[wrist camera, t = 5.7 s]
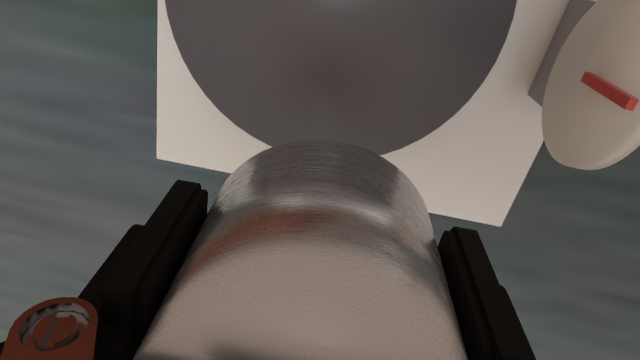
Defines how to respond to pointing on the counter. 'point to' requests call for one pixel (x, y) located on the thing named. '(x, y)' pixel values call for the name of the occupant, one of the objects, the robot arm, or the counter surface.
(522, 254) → the counter surface
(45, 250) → the counter surface
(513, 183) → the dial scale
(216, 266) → the cylinder
